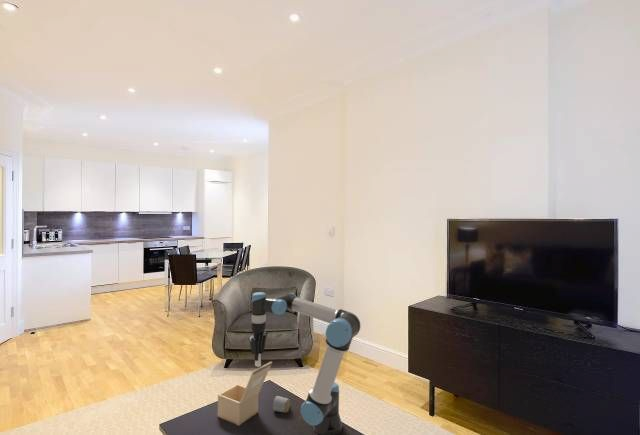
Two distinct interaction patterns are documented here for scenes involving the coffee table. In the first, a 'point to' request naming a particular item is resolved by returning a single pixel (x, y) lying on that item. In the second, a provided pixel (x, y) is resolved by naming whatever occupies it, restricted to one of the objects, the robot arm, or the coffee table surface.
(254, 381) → the carton lid
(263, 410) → the coffee table surface
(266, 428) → the coffee table surface
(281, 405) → the ceramic mug
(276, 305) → the robot arm
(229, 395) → the carton
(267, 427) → the coffee table surface
